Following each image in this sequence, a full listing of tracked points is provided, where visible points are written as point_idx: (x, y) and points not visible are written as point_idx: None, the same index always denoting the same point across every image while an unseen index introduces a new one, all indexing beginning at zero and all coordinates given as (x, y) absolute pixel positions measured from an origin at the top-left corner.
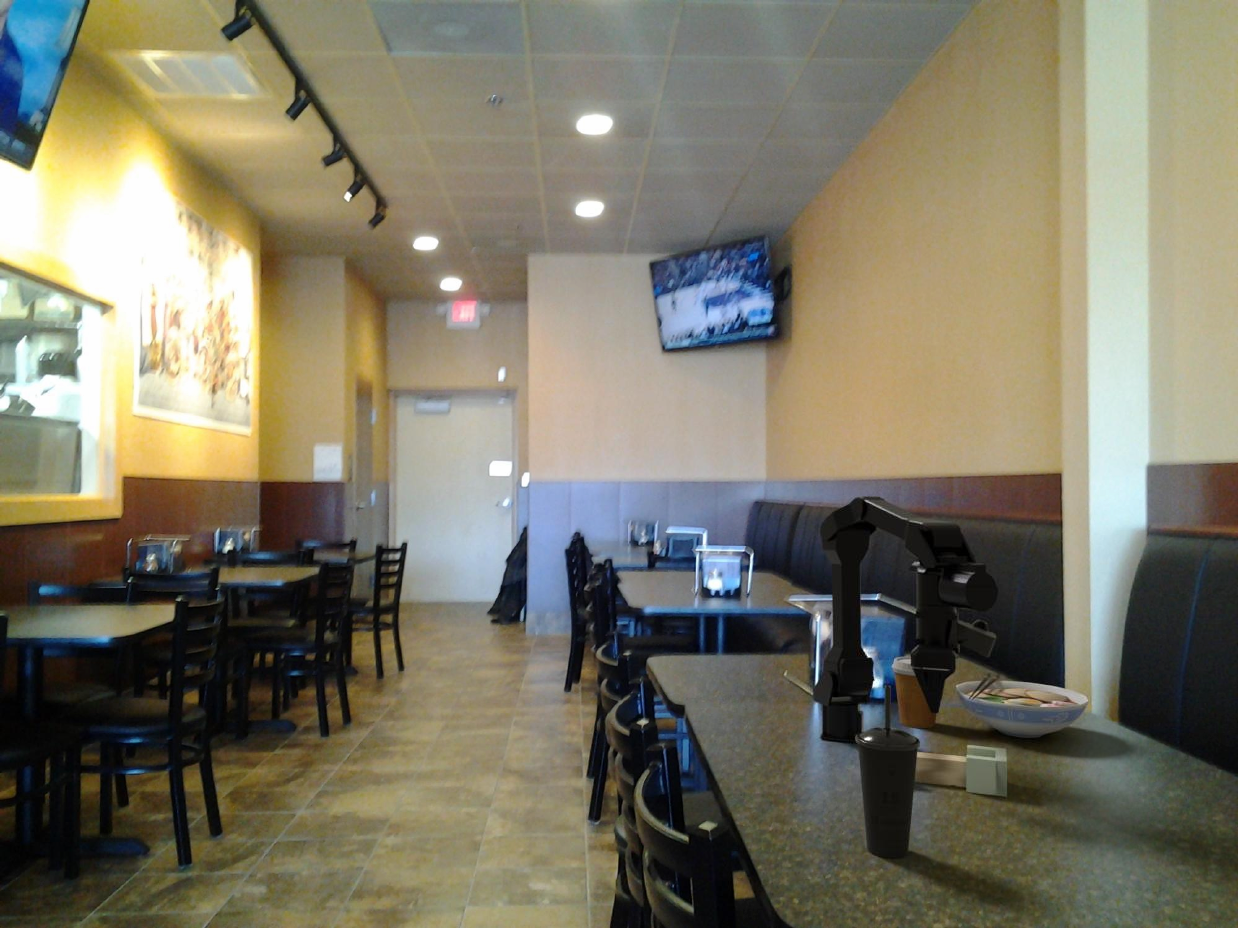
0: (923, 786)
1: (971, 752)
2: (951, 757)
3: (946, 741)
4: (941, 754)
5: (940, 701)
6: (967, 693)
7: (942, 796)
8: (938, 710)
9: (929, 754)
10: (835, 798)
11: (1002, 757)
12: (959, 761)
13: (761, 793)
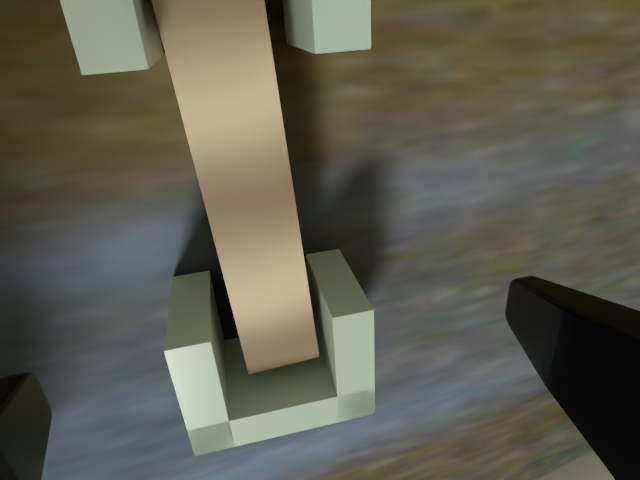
0: (331, 189)
1: (144, 41)
2: (230, 133)
3: None
4: (202, 183)
5: (629, 309)
6: None
7: (413, 114)
8: (548, 282)
9: (235, 227)
10: (517, 340)
11: None
12: (276, 89)
13: (523, 446)
